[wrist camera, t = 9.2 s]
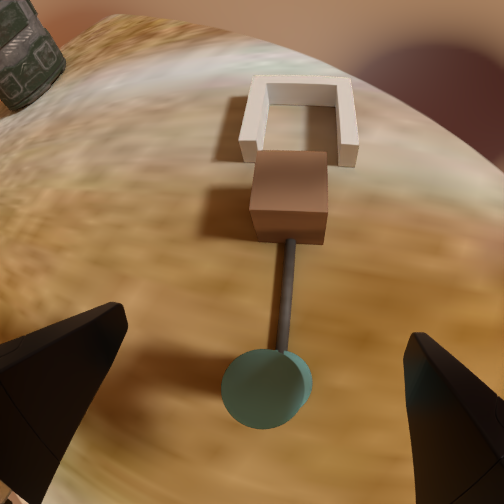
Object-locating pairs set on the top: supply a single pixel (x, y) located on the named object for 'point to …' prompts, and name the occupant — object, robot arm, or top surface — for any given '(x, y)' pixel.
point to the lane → (300, 93)
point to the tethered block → (291, 233)
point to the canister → (25, 55)
